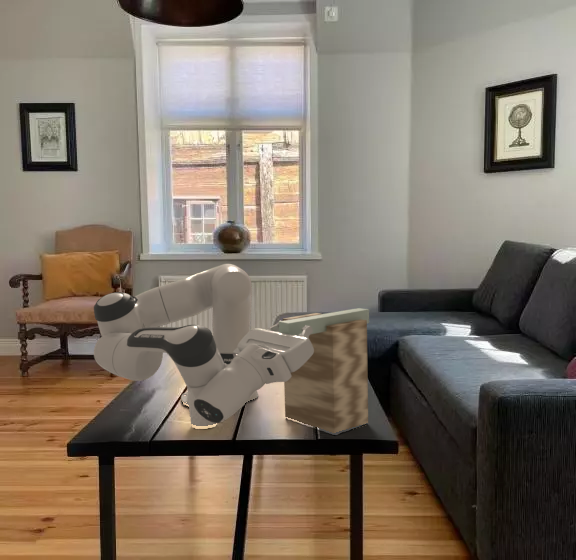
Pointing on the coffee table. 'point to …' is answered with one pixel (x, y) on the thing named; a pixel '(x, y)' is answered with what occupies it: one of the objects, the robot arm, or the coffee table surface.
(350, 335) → the wooden box
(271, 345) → the robot arm
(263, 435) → the coffee table surface
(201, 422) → the white cup
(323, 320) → the gray-green block
